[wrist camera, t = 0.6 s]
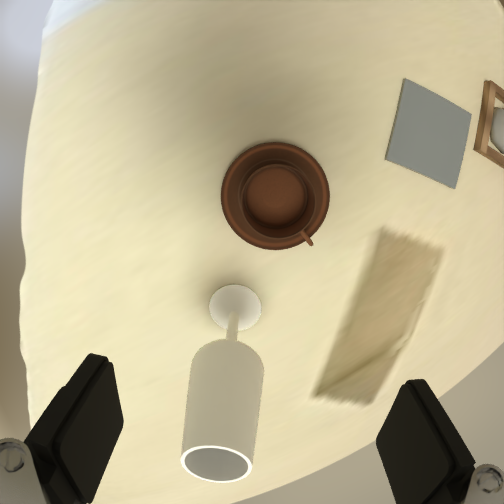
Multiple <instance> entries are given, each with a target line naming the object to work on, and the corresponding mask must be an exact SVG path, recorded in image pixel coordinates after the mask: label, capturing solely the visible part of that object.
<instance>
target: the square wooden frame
mask: <svg viewBox="0 0 504 504" xmlns="http://www.w3.org/2000/svg"><path fill="white" fill-rule="evenodd" d="M495 97H496V98H498V99H499V100H500V101H502V102H503V103H504V90H503V89H502V88H501V87H499V86H498V85H497V84H495V83H494V82H492V81H491V80H490V81H486V82H484V90H483V98H482V105H481V112H480V118H479V124H478V130H477V135H476V140H475V145H474V150H475V151H477V152H478V153H480V154H482V155H483V156H485V157H486V158H488V159H490V160H491V161H493V162H494V163H496V164H498V165H499V166H501V167H502V168H504V156H503V155H501V154H500V153H498V152H497V151H495V150H494V149H492V148H491V147H489V146H488V141H489V136H490V130H491V124H492V117H493V110H494V102H495Z"/></svg>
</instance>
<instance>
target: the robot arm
mask: <svg viewBox="0 0 504 504" xmlns="http://www.w3.org/2000/svg"><path fill="white" fill-rule="evenodd" d="M123 423H124V420H123V414H122V410H121V405H120V400H119V395H118V390H117V384H116V379H115V373H114V367H113V364H112V362H109V361H108V358H107V357H105V356H101V355H96V354H92V353H90V354H89V355H88V356H87V357H86V358H85V360H84V361H83V362H82V364H81V365H80V366H79V368H78V369H77V370H76V372H75V373H74V375H73V376H72V377H71V379H70V380H69V381H68V383H67V384H66V386H63V387H62V388H61V389H60V390H59V391H58V392H57V394H56V395H55V397H54V398H53V399H52V401H51V402H50V404H49V405H48V407H47V408H46V409H45V411H44V412H43V414H42V415H41V417H40V418H39V420H38V421H37V423H36V424H35V426H34V427H33V428H32V430H31V431H30V433H29V435H28V436H27V438H26V439H25V441H24V442H22V441H20V440H18V439H14V438H4V439H1V440H0V504H87V503H88V504H90V503H92V501H93V499H94V497H95V494H96V491H97V489H98V486H99V484H100V481H101V479H102V476H103V474H104V471H105V469H106V466H107V464H108V462H109V459H110V457H111V454H112V452H113V450H114V447H115V445H116V442H117V440H118V438H119V435H120V433H121V431H122V428H123ZM376 446H377V449H378V451H379V454H380V457H381V460H382V463H383V466H384V469H385V471H386V474H387V477H388V480H389V483H390V486H391V489H392V492H393V495H394V497H395V501H396V504H504V472H503V471H502V470H501V469H500V468H499V467H497V466H495V465H492V464H483V465H480V466H478V467H477V468H476V469H475V467H474V464H475V463H476V462H475V460H474V458H473V457H472V455H471V453H470V451H469V450H468V448H467V446H466V445H465V443H464V442H463V440H462V438H461V436H460V435H459V433H458V431H457V430H456V428H455V426H454V425H453V423H452V422H451V420H450V418H449V417H448V415H447V413H446V412H445V410H444V409H443V407H442V406H441V404H440V402H439V401H438V399H437V398H436V396H435V394H434V393H433V391H432V390H431V388H430V387H429V385H428V384H427V382H426V381H425V380H424V379H415V380H408V381H407V382H406V383H405V384H404V385H402V386H401V388H400V390H399V392H398V395H397V397H396V399H395V401H394V403H393V405H392V407H391V410H390V412H389V414H388V416H387V418H386V420H385V422H384V424H383V426H382V428H381V430H380V432H379V434H378V435H377V438H376Z"/></svg>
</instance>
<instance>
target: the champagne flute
mask: <svg viewBox="0 0 504 504" xmlns="http://www.w3.org/2000/svg"><path fill="white" fill-rule="evenodd" d="M209 311H210V314H211V317H212V318H213V320H214V321H215V322H216V323H217V324H218V325H219V326H221V327H222V328H224V329H227V334H226V339H220V340H216V341H213V342H210V343H208V344H206V345H204V346H203V347H202V348H200V349H199V350H198V352H197V353H196V354H195V356H194V358H193V360H192V364H191V371H190V379H189V387H188V395H187V404H186V413H185V422H184V432H183V441H182V452H181V464H182V466H183V467H184V469H185V470H186V471H187V472H189V473H190V474H191V475H193V476H195V477H197V478H200V479H202V480H206V481H210V482H218V483H227V482H234V481H238V480H240V479H243V478H244V477H246V476H247V475H248V474H249V473H250V472H251V470H252V463H253V456H254V448H255V441H256V433H257V426H258V418H259V410H260V402H261V394H262V385H263V377H264V367H263V363H262V361H261V359H260V357H259V355H258V354H257V353H256V352H255V351H254V350H253V349H252V348H251V347H249V346H248V345H246V344H245V343H242V342H240V341H237V332H238V331H242V330H245V329H248V328H250V327H251V326H253V325H254V324H255V323H256V322H257V321H258V319H259V317H260V314H261V302H260V300H259V298H258V296H257V295H256V294H255V293H254V292H253V291H252V290H251V289H249V288H247V287H245V286H242V285H234V284H233V285H227V286H224V287H222V288H220V289H218V290H217V291H216V292H215V293H214V294H213V296H212V298H211V300H210V303H209Z"/></svg>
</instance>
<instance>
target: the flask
mask: <svg viewBox="0 0 504 504" xmlns="http://www.w3.org/2000/svg"><path fill="white" fill-rule="evenodd" d="M491 141H492V142H493V144H494V145H495V146H496V147H497V148H498V149H499V150H500V152H501V153H502V154H504V109H503V108H497V107H495V109H494V112H493V117H492V124H491Z"/></svg>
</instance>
